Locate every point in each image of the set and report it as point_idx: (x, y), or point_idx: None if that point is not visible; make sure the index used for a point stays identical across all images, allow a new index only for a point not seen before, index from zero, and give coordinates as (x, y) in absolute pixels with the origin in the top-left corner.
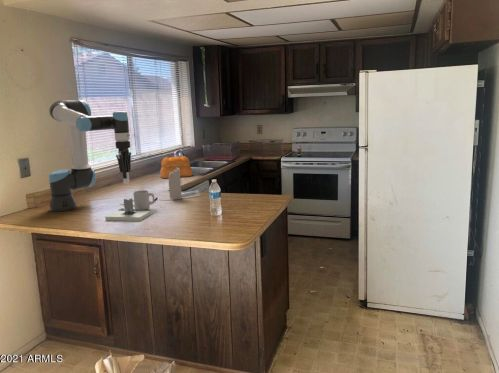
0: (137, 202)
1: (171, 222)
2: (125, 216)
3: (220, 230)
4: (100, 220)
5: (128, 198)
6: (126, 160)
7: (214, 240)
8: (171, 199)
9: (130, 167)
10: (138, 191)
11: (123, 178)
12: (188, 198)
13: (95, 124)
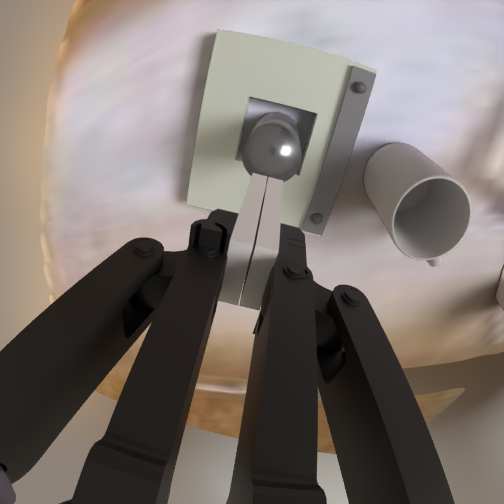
0: (381, 177)
1: None
2: (208, 132)
3: (122, 374)
4: (224, 8)
5: (291, 156)
6: (233, 476)
7: None
8: (501, 277)
9: (342, 366)
10: (465, 201)
11: (217, 210)
12: (486, 322)
13: None
